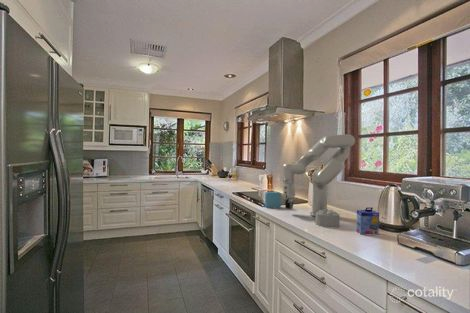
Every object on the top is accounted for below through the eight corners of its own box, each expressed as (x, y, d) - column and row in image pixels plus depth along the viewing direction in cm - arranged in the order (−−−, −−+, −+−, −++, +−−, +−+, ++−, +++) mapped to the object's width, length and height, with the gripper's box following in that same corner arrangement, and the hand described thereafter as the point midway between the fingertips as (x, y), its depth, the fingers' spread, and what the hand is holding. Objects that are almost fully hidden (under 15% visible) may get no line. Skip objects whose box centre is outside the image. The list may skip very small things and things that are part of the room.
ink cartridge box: (360, 235, 126) (361, 207, 126) (355, 231, 132) (356, 205, 132) (379, 235, 126) (380, 208, 126) (373, 231, 132) (373, 205, 132)
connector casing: (293, 208, 168) (293, 198, 167) (290, 209, 164) (290, 199, 164) (287, 207, 170) (287, 197, 170) (285, 208, 167) (284, 198, 167)
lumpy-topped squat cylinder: (341, 227, 139) (341, 212, 139) (319, 227, 138) (319, 212, 138) (333, 222, 149) (333, 208, 149) (312, 222, 149) (313, 208, 149)
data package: (279, 206, 191) (279, 191, 191) (281, 207, 187) (281, 192, 187) (264, 206, 191) (265, 191, 190) (265, 208, 186) (266, 192, 186)
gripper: (288, 183, 158) (288, 210, 158) (298, 180, 171) (299, 205, 171) (278, 182, 163) (278, 209, 163) (289, 179, 176) (289, 204, 176)
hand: (289, 207), depth 167 cm, fingers closed on connector casing, 4 cm apart
